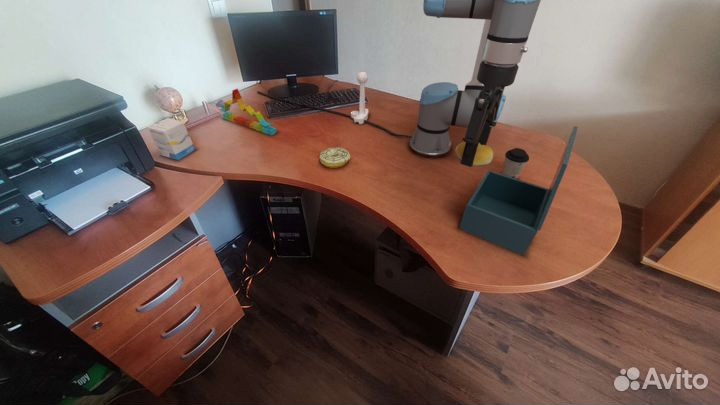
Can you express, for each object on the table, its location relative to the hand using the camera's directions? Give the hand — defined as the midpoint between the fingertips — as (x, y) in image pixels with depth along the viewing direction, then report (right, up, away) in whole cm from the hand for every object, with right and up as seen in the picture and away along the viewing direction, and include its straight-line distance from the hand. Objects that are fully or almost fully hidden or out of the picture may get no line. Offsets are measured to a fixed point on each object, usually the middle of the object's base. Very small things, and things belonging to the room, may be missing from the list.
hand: (472, 156), depth 75 cm
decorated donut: (-38, +3, +31) cm, 49 cm away
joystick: (-29, +26, +57) cm, 69 cm away
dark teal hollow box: (+10, -17, +7) cm, 21 cm away
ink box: (-97, +7, +36) cm, 104 cm away
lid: (+16, -6, -8) cm, 19 cm away
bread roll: (0, 0, 0) cm, 0 cm away
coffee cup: (+20, -4, +22) cm, 30 cm away
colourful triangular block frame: (-77, +22, +53) cm, 96 cm away
